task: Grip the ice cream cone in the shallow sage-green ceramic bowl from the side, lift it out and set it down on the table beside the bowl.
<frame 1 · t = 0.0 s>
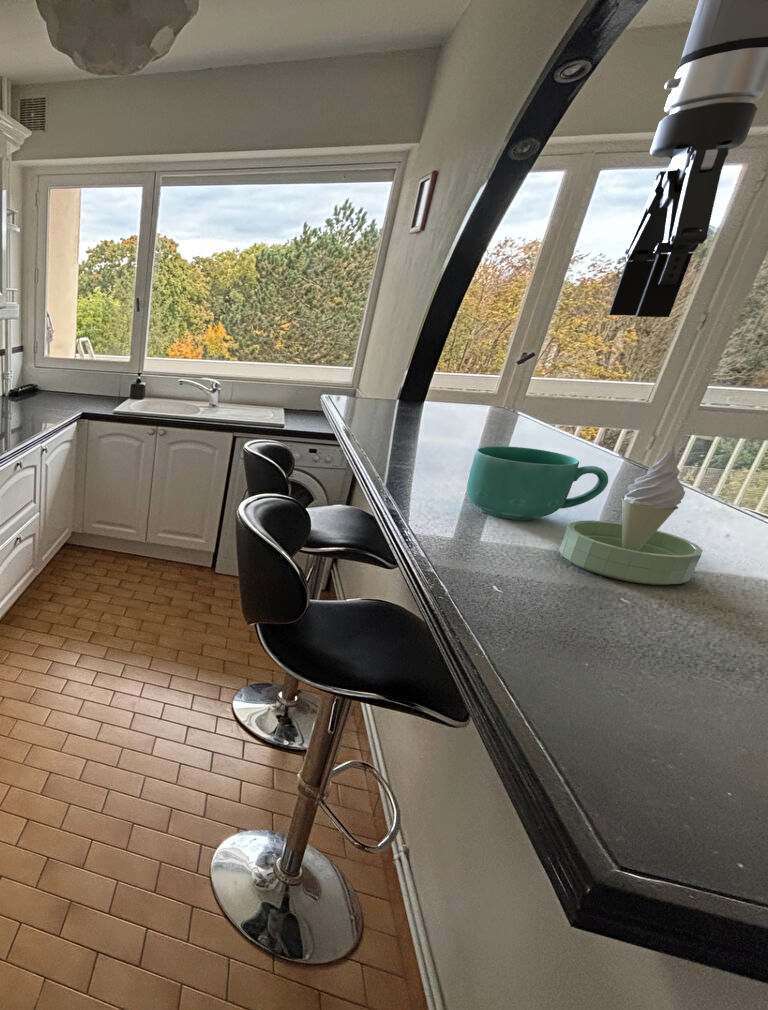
hand: (635, 316, 72), 29 cm above the countertop, tool pointing down, fingers open, 13 cm apart
ice cream cone: (624, 564, 74), resting on bowl
bowl: (620, 566, 74), on the countertop
mug: (522, 516, 92), on the countertop
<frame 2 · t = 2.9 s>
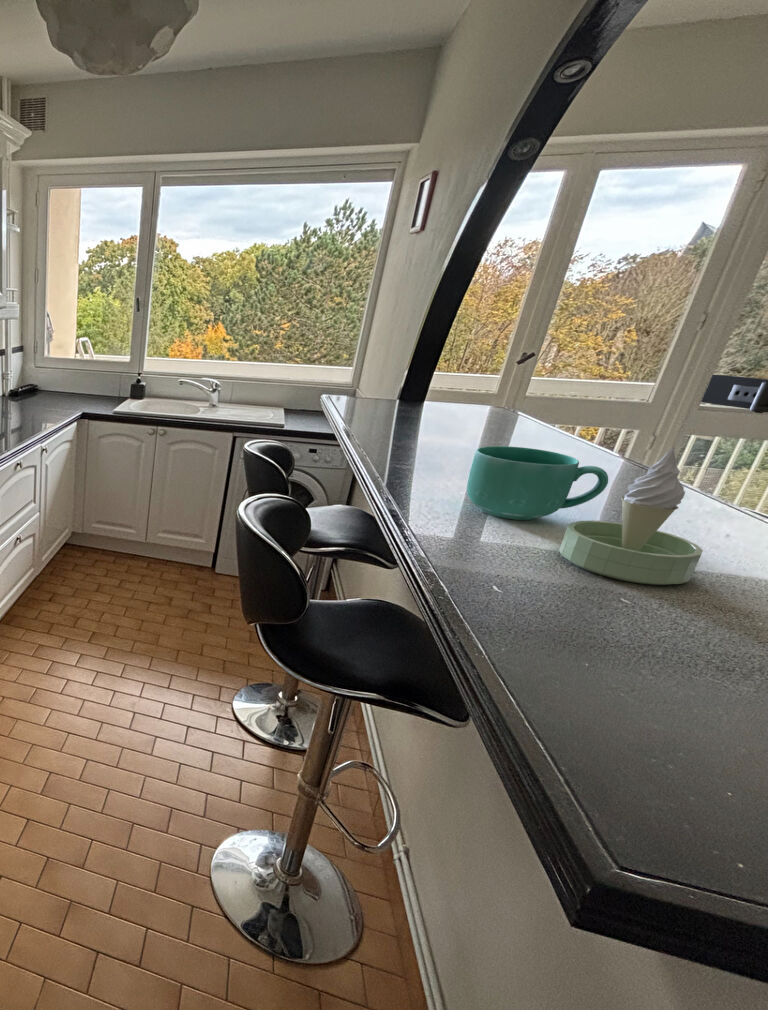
nothing on the countertop moved.
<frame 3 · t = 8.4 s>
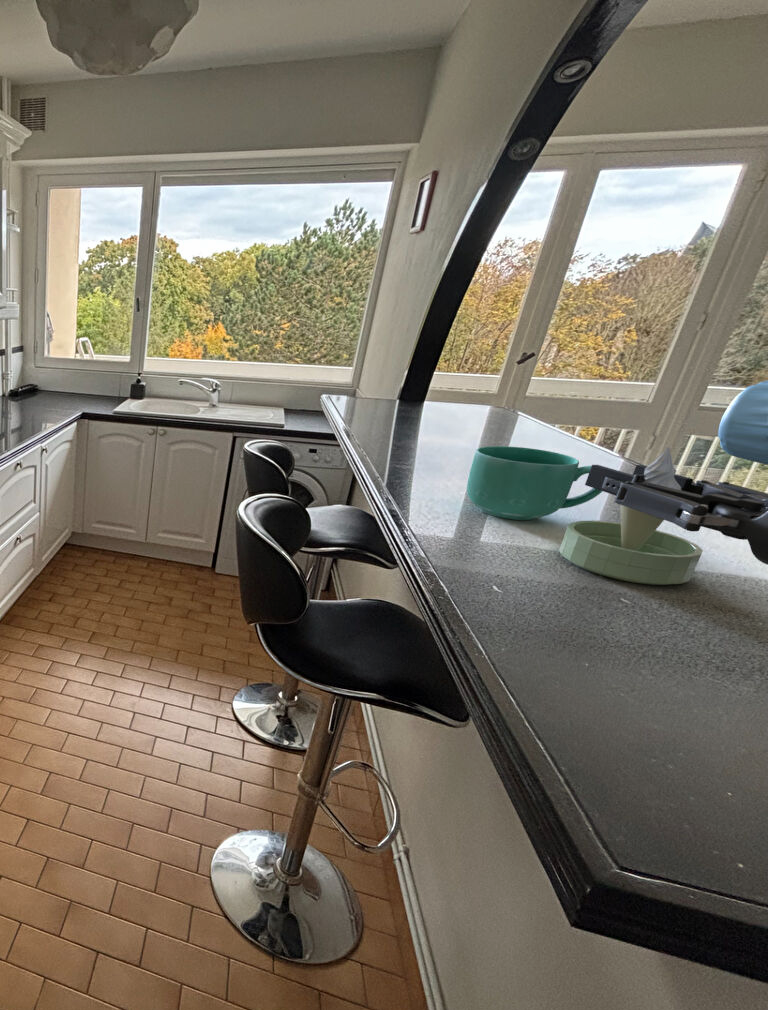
hand: (613, 475, 75), 11 cm above the countertop, tool horizontal, fingers closed on ice cream cone, 5 cm apart
ice cream cone: (624, 564, 74), resting on bowl, touching gripper
everything else where it was.
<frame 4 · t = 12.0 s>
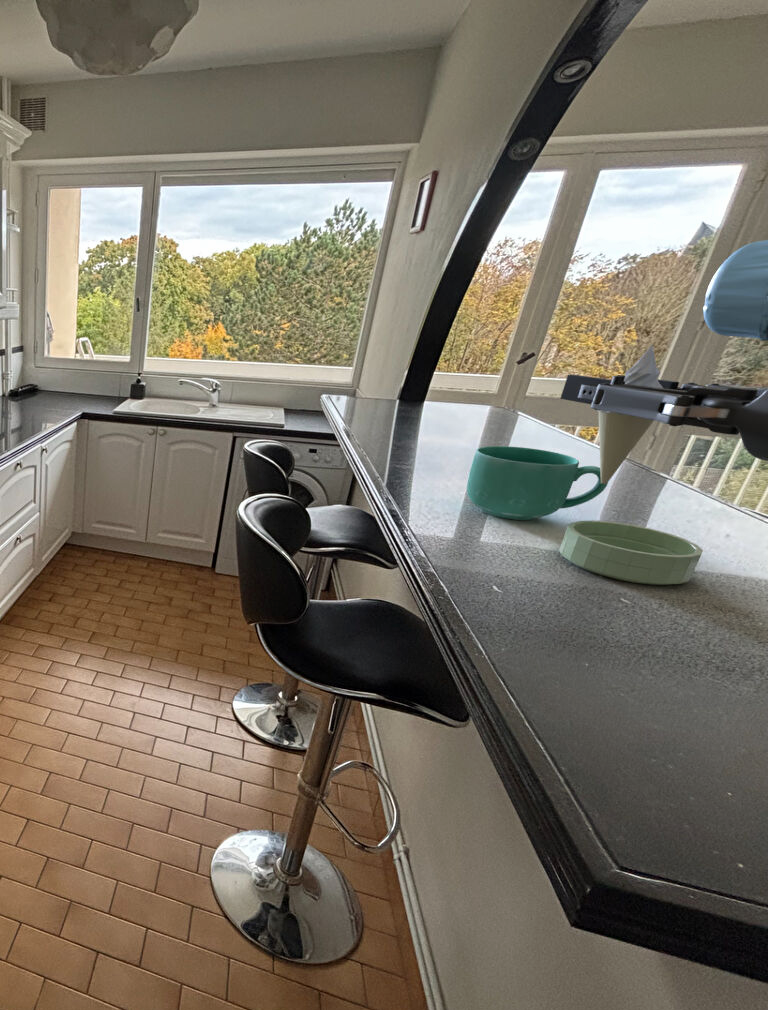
hand: (592, 387, 68), 22 cm above the countertop, tool horizontal, fingers closed on ice cream cone, 5 cm apart
ice cream cone: (603, 485, 67), point 12 cm above the countertop, touching gripper
everything else where it was.
when the fingers open (10 cm above the countertop, at t = 15.7 s): ice cream cone moves 2 cm, point 1 cm above the countertop.
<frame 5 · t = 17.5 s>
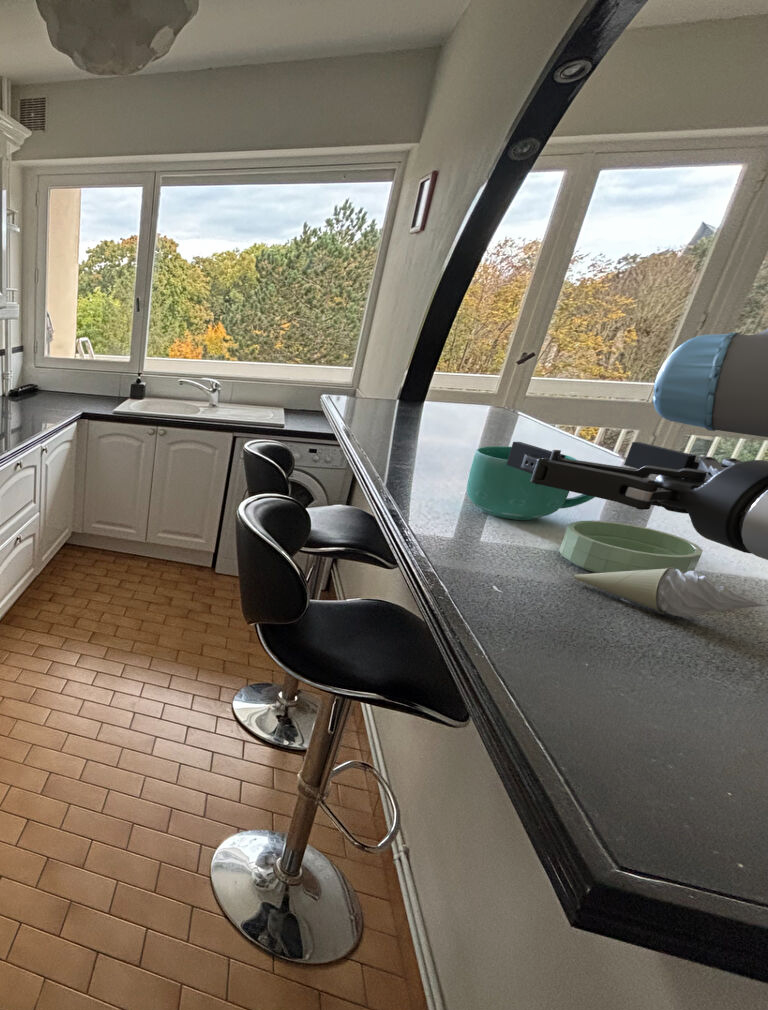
hand: (571, 453, 68), 15 cm above the countertop, tool horizontal, fingers open, 13 cm apart
ice cream cone: (572, 576, 70), point 1 cm above the countertop
everything else where it was.
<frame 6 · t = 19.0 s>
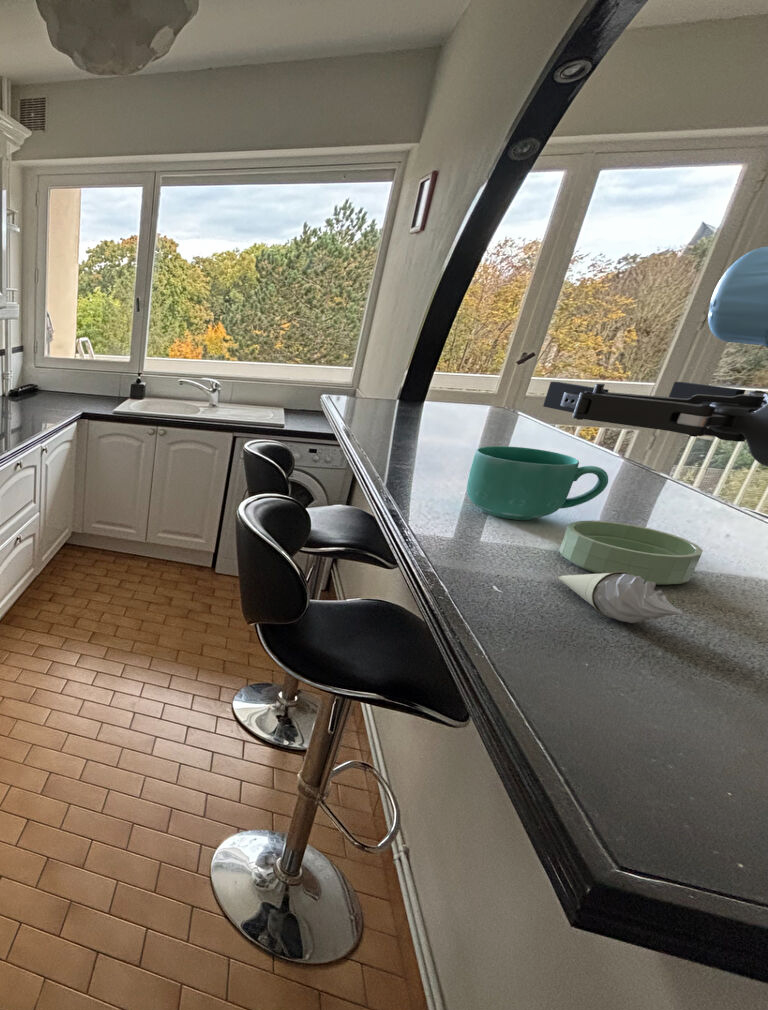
hand: (611, 394, 66), 22 cm above the countertop, tool horizontal, fingers open, 13 cm apart
ice cream cone: (559, 577, 70), point 1 cm above the countertop
everything else where it was.
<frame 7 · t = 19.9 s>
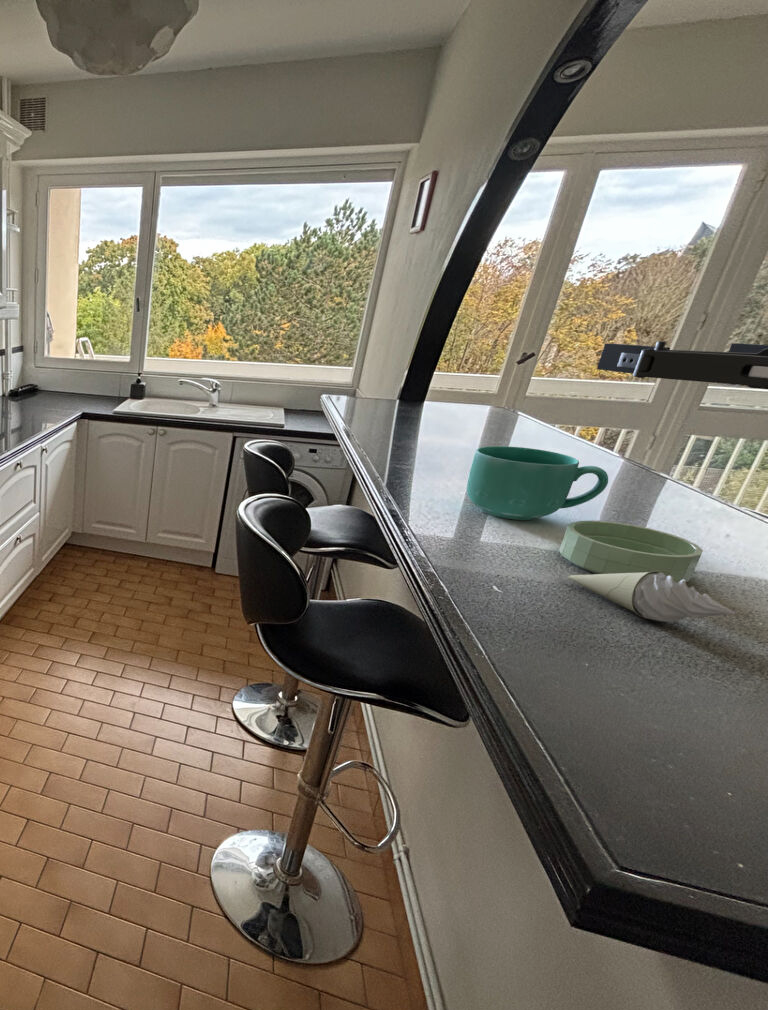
hand: (666, 356, 64), 26 cm above the countertop, tool horizontal, fingers open, 13 cm apart
ice cream cone: (568, 577, 70), point 1 cm above the countertop
everything else where it was.
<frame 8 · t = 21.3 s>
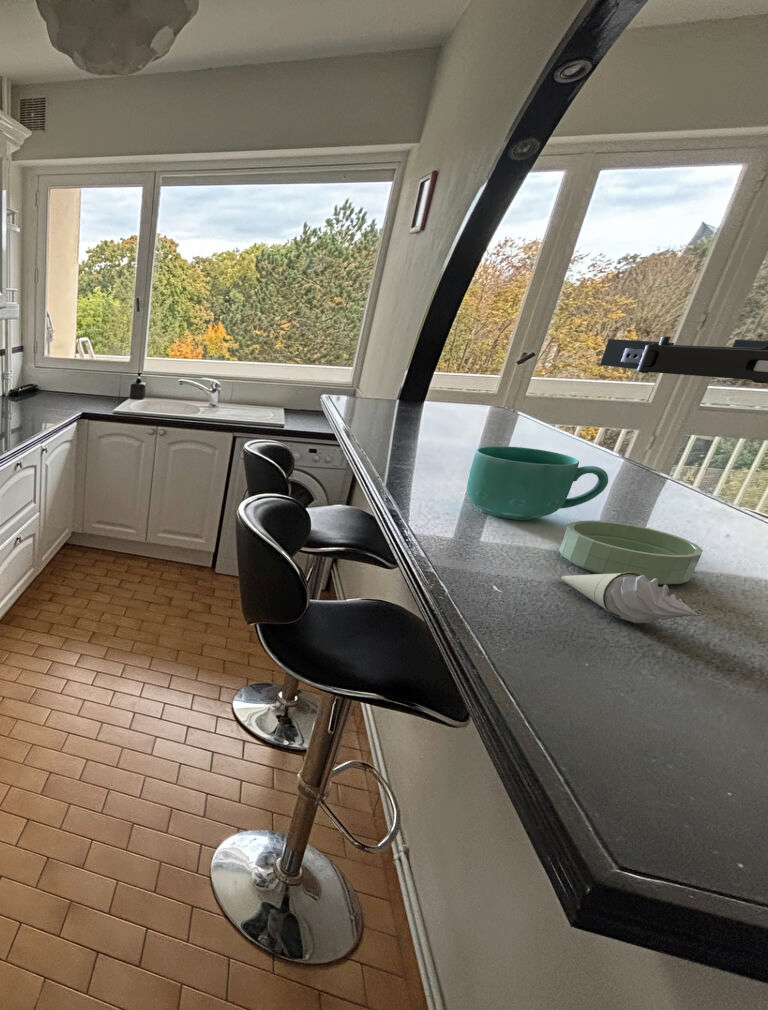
hand: (669, 352, 64), 26 cm above the countertop, tool horizontal, fingers open, 13 cm apart
at the end: ice cream cone inside the target area (1.8 cm from its centre), point 0.7 cm above the countertop; ice cream cone touching countertop; the gripper is holding nothing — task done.
